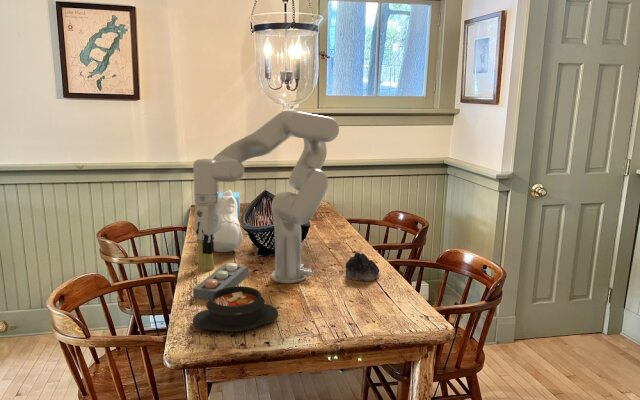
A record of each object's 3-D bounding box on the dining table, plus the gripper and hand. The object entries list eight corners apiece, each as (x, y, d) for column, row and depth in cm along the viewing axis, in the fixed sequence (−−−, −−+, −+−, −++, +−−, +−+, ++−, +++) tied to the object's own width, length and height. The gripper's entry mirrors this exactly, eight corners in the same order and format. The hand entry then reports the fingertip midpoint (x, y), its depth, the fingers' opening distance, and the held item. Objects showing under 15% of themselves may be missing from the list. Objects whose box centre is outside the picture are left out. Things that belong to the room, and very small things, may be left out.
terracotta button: (219, 287, 169) (219, 279, 168) (214, 291, 165) (213, 284, 164) (208, 285, 170) (208, 278, 169) (203, 290, 166) (202, 283, 165)
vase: (210, 272, 189) (208, 235, 185) (195, 270, 190) (193, 234, 186) (216, 266, 194) (215, 230, 191) (202, 265, 196) (200, 229, 192)
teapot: (219, 212, 273) (218, 187, 270) (240, 212, 275) (239, 187, 272) (217, 223, 252) (215, 197, 249) (239, 223, 254) (238, 196, 251)
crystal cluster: (371, 268, 195) (369, 244, 193) (387, 278, 182) (384, 252, 180) (339, 275, 191) (336, 250, 189) (352, 286, 178) (350, 258, 176)
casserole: (193, 343, 138) (192, 314, 136) (192, 313, 155) (190, 287, 153) (284, 331, 144) (283, 304, 142) (272, 304, 162) (272, 279, 160)
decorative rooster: (243, 244, 200) (249, 188, 211) (203, 238, 196) (211, 182, 207) (235, 263, 222) (241, 211, 232) (199, 258, 218) (206, 206, 229)
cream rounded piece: (239, 270, 184) (239, 263, 183) (234, 274, 180) (234, 267, 179) (229, 269, 185) (228, 262, 184) (224, 273, 181) (224, 266, 180)
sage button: (229, 278, 176) (229, 271, 176) (224, 282, 173) (224, 275, 172) (219, 277, 177) (219, 270, 177) (214, 281, 174) (213, 274, 173)
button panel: (248, 275, 186) (247, 266, 185) (218, 301, 163) (218, 291, 162) (225, 272, 188) (225, 263, 187) (193, 298, 165) (193, 288, 165)
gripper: (206, 204, 152) (208, 261, 156) (227, 194, 166) (228, 247, 170) (183, 202, 154) (186, 259, 158) (206, 192, 168) (208, 245, 172)
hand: (208, 253), depth 164 cm, fingers closed
